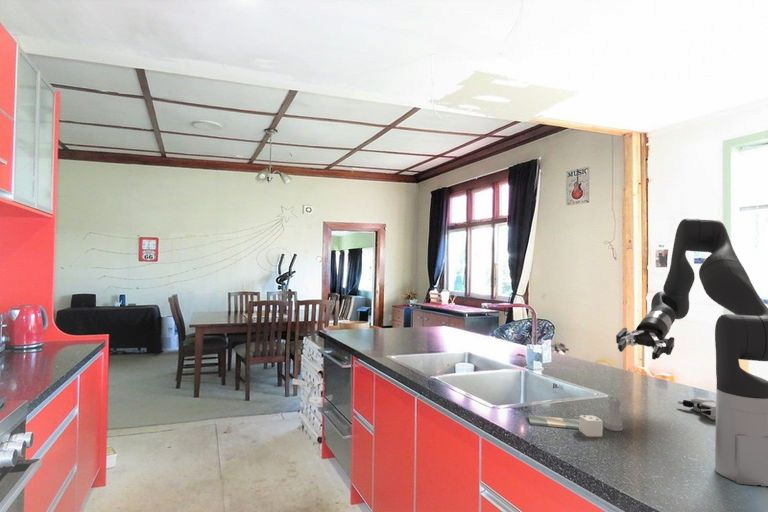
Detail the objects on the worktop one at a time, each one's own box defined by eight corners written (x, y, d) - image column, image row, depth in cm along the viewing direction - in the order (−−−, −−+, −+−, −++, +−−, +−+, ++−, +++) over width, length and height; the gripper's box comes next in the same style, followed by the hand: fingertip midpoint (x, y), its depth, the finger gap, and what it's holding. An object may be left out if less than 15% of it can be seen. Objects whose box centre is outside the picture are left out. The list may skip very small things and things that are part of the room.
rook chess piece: (625, 432, 120) (626, 401, 120) (607, 430, 121) (607, 400, 121) (620, 426, 124) (621, 396, 124) (602, 425, 125) (603, 395, 125)
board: (602, 431, 120) (602, 428, 120) (530, 424, 124) (530, 422, 124) (596, 423, 126) (596, 421, 126) (527, 417, 129) (527, 415, 129)
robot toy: (674, 410, 143) (714, 424, 128) (674, 395, 143) (713, 407, 129) (711, 410, 144) (754, 424, 129) (710, 396, 145) (753, 407, 130)
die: (602, 436, 116) (602, 420, 116) (586, 436, 116) (587, 420, 116) (594, 431, 120) (594, 415, 120) (579, 430, 120) (579, 415, 120)
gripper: (629, 311, 145) (609, 335, 134) (681, 321, 135) (665, 347, 124) (629, 332, 147) (610, 357, 136) (681, 343, 137) (664, 371, 127)
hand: (636, 352), depth 130 cm, fingers open, 8 cm apart
